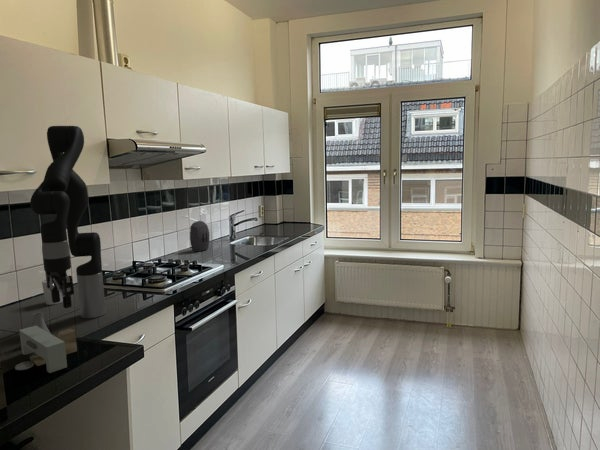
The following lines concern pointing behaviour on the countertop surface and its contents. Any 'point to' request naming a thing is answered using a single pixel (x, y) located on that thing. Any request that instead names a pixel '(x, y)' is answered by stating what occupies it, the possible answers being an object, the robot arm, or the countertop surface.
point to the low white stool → (44, 347)
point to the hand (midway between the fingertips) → (61, 304)
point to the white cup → (49, 294)
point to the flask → (40, 321)
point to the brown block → (70, 345)
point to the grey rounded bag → (199, 236)
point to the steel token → (24, 365)
